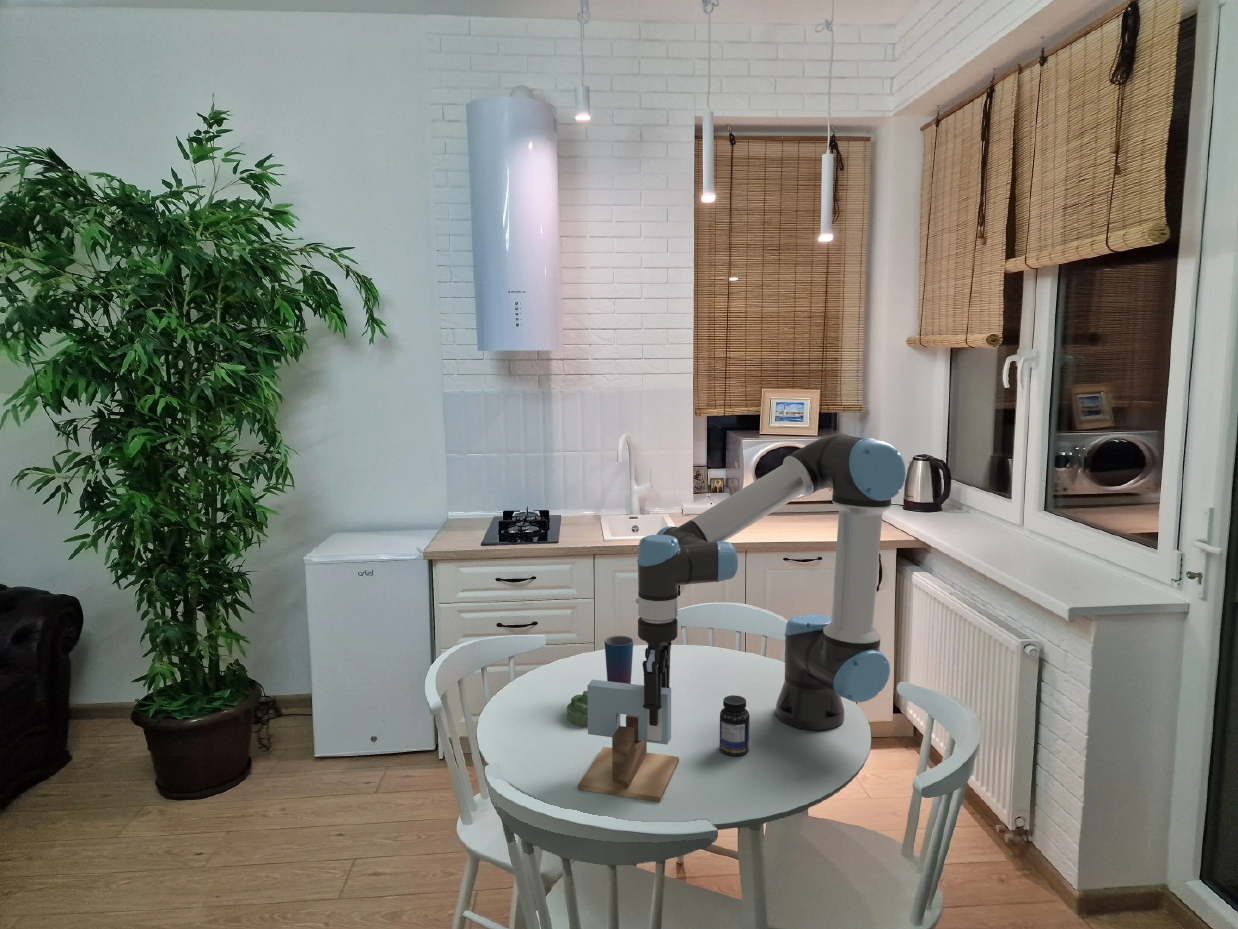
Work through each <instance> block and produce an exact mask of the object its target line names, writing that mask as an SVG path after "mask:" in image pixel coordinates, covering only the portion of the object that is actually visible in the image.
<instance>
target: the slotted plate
mask: <svg viewBox="0 0 1238 929" xmlns="http://www.w3.org/2000/svg"><path fill="white" fill-rule="evenodd" d="M586 687H587V690H586V691H587V696H588V727H587V735H592V736H597V737H598V736H600V737H607V738H612V736H613V735H614V733H615V732H616V730H617V729H618V727H619V726H621V715H625V716H626V715H633V716H638V741H643V742H647V743H651V744H660V745H665V746H668V745H669V742H670V741H671V739H672V688H671V687H670V688H662V687H661V707H662V741H655V740H648V739H647V709H645V708H643V705H644V684H642V685H641V684H633V683H631V684H627V683H618V682H609V681H607V680H598V679H591V680H590V682H589V683H588V684H587V686H586Z"/></svg>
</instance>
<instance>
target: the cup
mask: <svg viewBox="0 0 1238 929" xmlns="http://www.w3.org/2000/svg"><path fill="white" fill-rule="evenodd" d="M604 652H605V667H606V681H609V682H618V683H627V684H632V683H631V682H632V671H633V670H632V669H633V652H634V639H633V638H632V637H630V636H626V635H612V636H608V637H606V638H605V639H604Z"/></svg>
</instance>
